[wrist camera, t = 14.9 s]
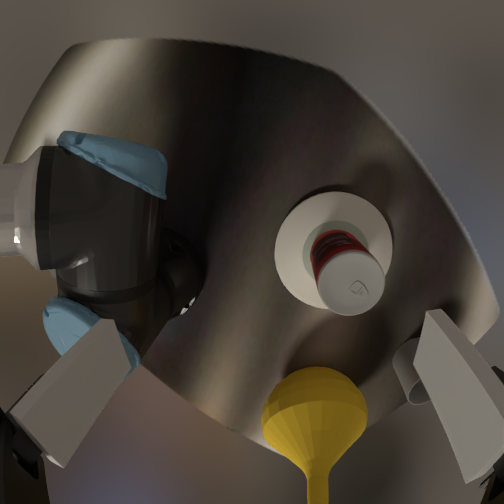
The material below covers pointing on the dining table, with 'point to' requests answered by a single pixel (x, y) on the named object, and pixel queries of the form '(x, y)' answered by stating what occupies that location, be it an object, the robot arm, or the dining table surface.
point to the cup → (410, 372)
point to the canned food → (346, 273)
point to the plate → (318, 222)
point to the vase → (314, 422)
